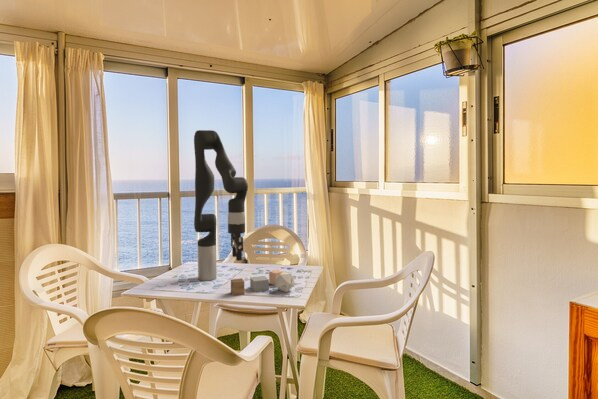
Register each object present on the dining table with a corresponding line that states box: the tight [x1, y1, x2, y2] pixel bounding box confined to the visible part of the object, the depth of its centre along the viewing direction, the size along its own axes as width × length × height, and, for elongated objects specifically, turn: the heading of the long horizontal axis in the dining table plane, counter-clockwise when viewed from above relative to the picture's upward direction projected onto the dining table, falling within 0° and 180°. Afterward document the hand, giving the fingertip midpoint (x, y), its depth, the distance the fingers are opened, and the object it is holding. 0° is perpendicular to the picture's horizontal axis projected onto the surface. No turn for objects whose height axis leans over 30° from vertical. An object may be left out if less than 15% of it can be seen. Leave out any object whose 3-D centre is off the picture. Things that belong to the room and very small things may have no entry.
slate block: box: [249, 275, 270, 293], centre depth 172 cm, size 7×7×5 cm
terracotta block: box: [268, 269, 284, 287], centre depth 180 cm, size 5×5×6 cm
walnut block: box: [230, 278, 245, 297], centre depth 165 cm, size 5×5×6 cm
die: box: [274, 271, 296, 293], centre depth 169 cm, size 8×9×10 cm
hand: (237, 258), depth 164 cm, fingers open, 8 cm apart
